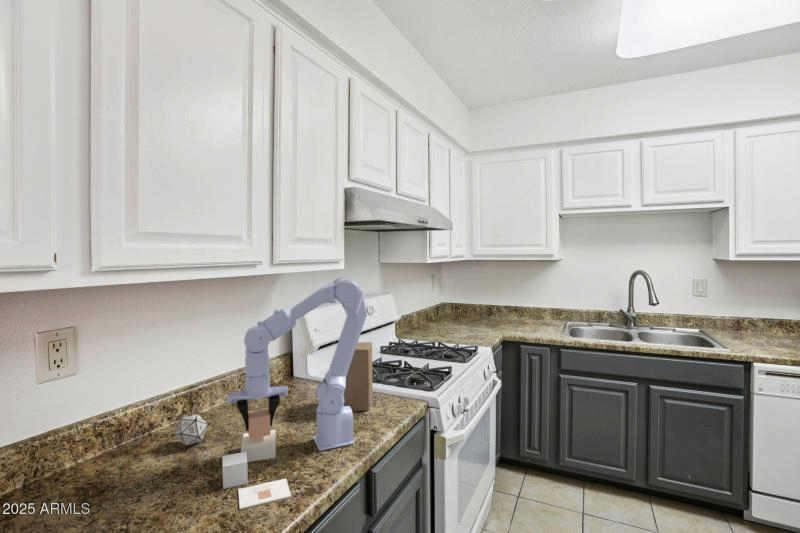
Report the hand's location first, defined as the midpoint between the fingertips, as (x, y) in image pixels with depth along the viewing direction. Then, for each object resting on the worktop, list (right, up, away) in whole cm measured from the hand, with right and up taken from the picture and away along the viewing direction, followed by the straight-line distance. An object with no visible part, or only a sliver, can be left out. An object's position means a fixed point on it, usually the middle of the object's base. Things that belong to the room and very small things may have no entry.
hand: (258, 426), depth 104 cm
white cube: (-1, -7, -12) cm, 14 cm away
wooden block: (+21, -5, +31) cm, 38 cm away
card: (+7, -7, -17) cm, 20 cm away
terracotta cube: (0, -2, 0) cm, 2 cm away
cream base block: (0, -7, 0) cm, 7 cm away
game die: (-19, -7, +5) cm, 21 cm away
